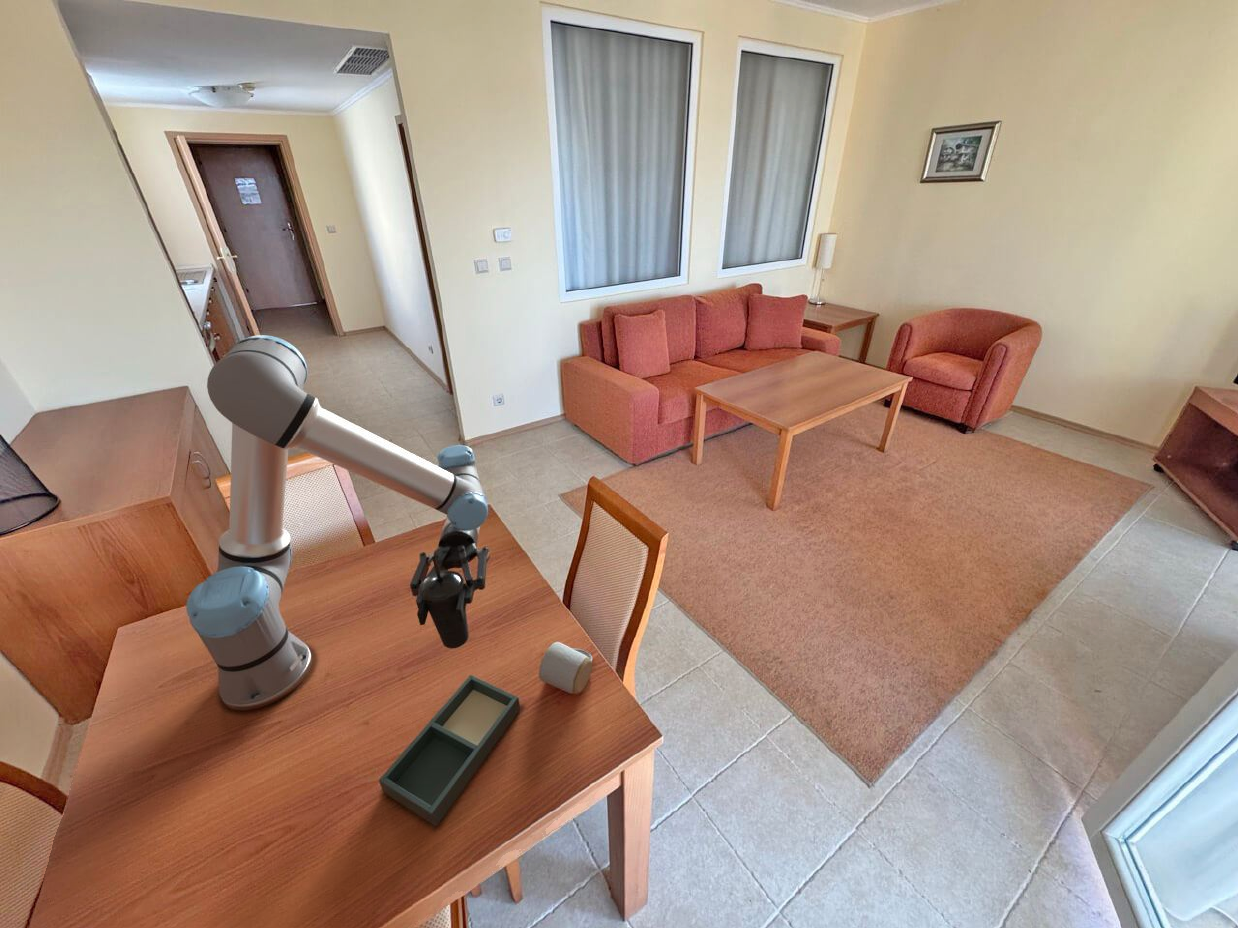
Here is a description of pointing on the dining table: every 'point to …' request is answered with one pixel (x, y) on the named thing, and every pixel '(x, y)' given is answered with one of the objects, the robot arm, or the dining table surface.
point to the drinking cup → (445, 605)
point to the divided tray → (450, 749)
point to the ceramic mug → (566, 668)
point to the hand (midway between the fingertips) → (440, 617)
